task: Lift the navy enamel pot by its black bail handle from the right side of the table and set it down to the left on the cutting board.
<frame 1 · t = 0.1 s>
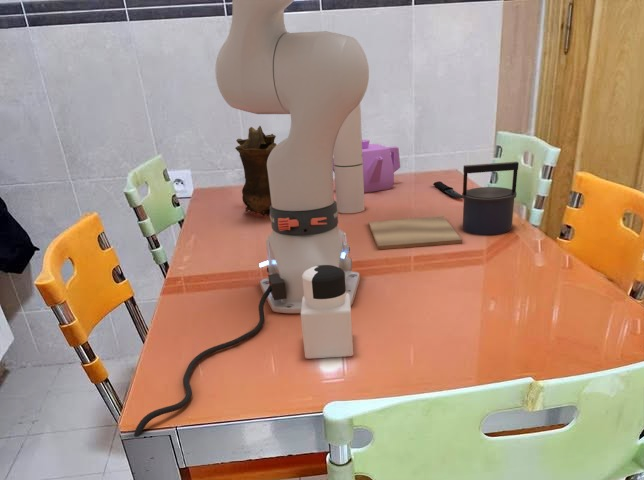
teakettle: (364, 189, 186), on the table
medicine bottle: (329, 349, 98), on the table
pottery vessel: (265, 213, 169), on the table
knife: (449, 194, 176), on the table
cylindrical container: (350, 210, 167), on the table
cutting board: (412, 233, 146), on the table
pot: (486, 228, 147), on the table
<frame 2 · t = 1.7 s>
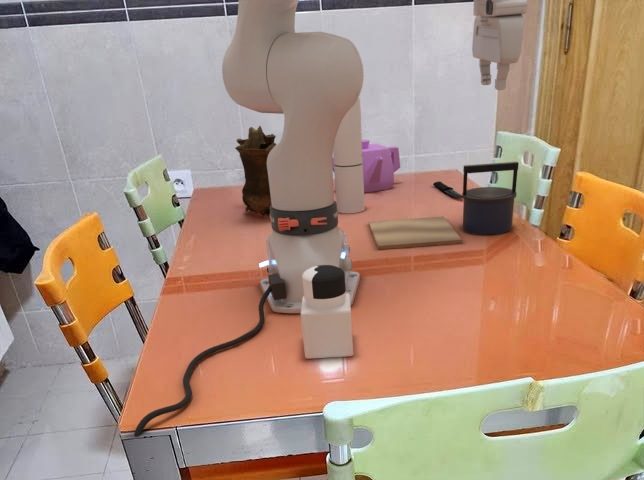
hand: (492, 87, 132), 27 cm above the table, tool pointing down, fingers open, 8 cm apart
nothing on the table moved.
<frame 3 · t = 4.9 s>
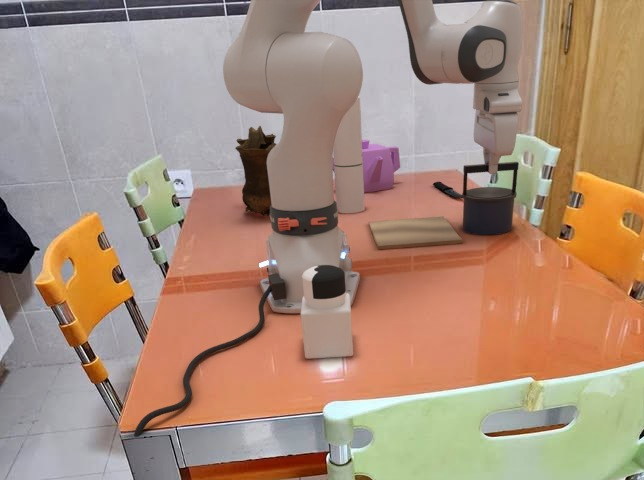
hand: (490, 172, 140), 12 cm above the table, tool pointing down, fingers closed on pot
pot: (486, 228, 147), on the table, touching gripper
everything else where it was.
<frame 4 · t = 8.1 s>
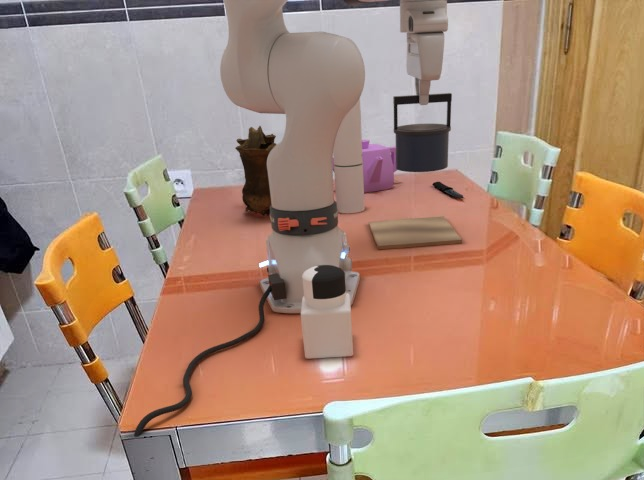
hand: (422, 104, 131), 25 cm above the table, tool pointing down, fingers closed on pot
pot: (421, 167, 138), point 14 cm above the table, touching gripper
everything else where it was.
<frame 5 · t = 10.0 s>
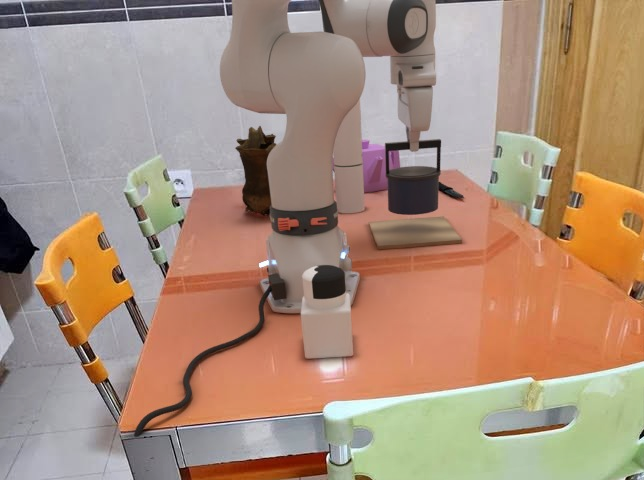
hand: (412, 149, 136), 17 cm above the table, tool pointing down, fingers closed on pot
pot: (413, 208, 143), point 5 cm above the table, touching gripper
everything else where it was.
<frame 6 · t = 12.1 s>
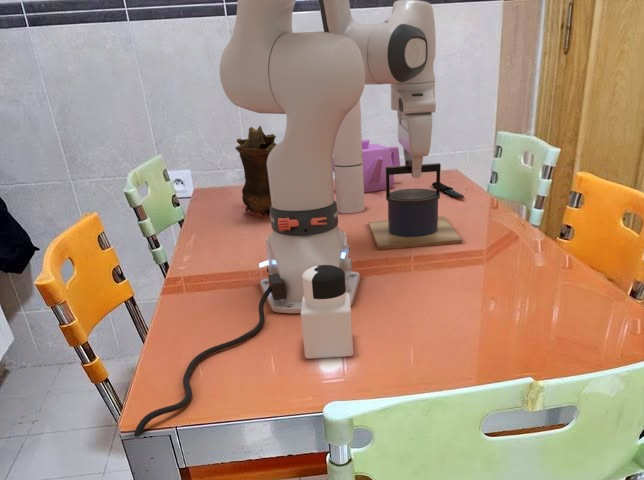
hand: (412, 173, 139), 13 cm above the table, tool pointing down, fingers open, 8 cm apart
pot: (412, 230, 146), point 1 cm above the table, touching cutting board
everything else where it was.
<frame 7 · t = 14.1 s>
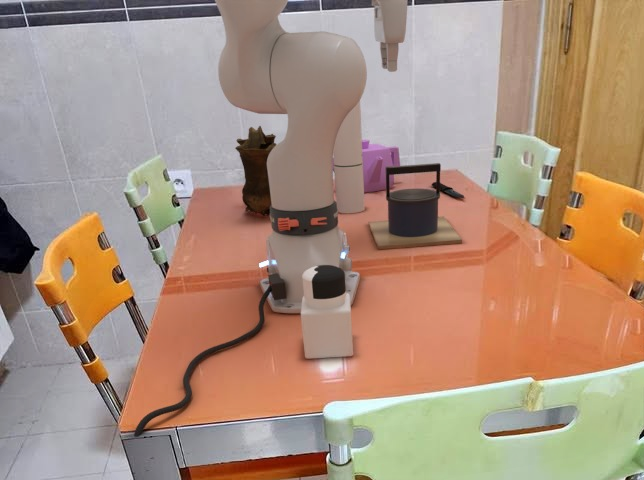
hand: (389, 70, 129), 31 cm above the table, tool pointing down, fingers open, 8 cm apart
nothing on the table moved.
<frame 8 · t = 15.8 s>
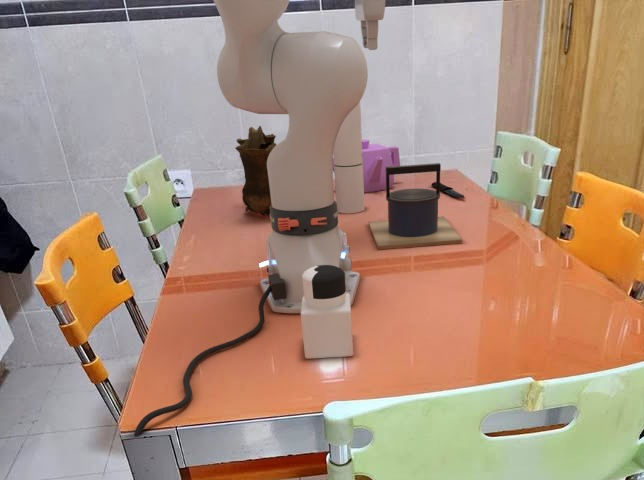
hand: (369, 48, 128), 35 cm above the table, tool pointing down, fingers open, 8 cm apart
nothing on the table moved.
at the end: pot inside the target area on the cutting board (0.0 cm from its centre), point 0.8 cm above the cutting board's base; pot tilted 0°; the gripper is holding nothing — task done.
